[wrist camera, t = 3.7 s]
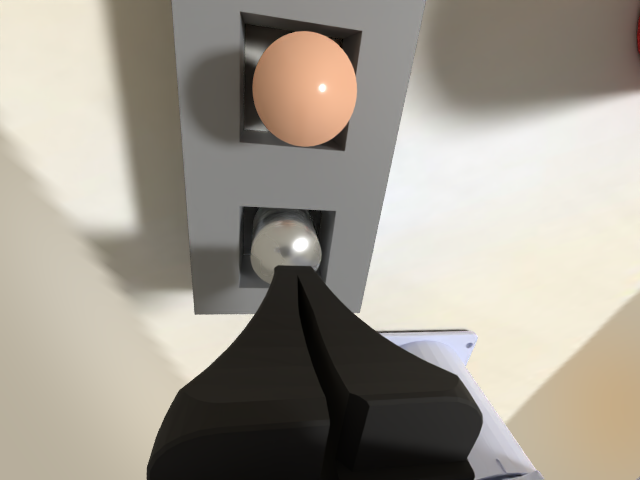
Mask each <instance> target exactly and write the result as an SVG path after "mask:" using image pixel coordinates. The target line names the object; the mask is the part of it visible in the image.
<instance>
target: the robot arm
mask: <svg viewBox="0 0 640 480" xmlns="http://www.w3.org/2000/svg"><path fill="white" fill-rule="evenodd" d="M477 339H478V336H477V335H476V333H475V332H473V331H449V332H406V333H378V332H376V331H375V330H374V329H372V328H371V327H370V326H368V325H367V324H366V323H365V322H363V321H362V320H361V319H360V318H358V317H357V316H356V315H355V314H354V313H353V312H351V311H350V310H349V309H348V308H347V307H346V306H345V305H344V304H343V303H342V302H341V301H340V300H339V299H338V298H337V296H336V295H335V294H334V293H333V292H332V291H331V290H330V289H329V288H328V286H327V285H326V284H325V283H324V282H323V280H322V279H321V278H320V277H319V275H318V274H317V273H316V271H315V270H314V269H313V268H312V267H311V266H289V265H277V266H276V267H275V268H274V275H273V279H272V282H271V284H270V287H269V289H268V291H267V293H266V296H265V298H264V299H263V301H262V303H261V305H260V306H259V308H258V310H257V312H256V313H255V315H254V316H253V318H252V319H251V321H250V322H249V323H248V325H247V326H246V327H245V329H244V330H243V331H242V333H241V334H240V335H239V336H238V337H237V338H236V340H235V341H234V342H233V343H232V344H231V345H230V346H229V347H228V349H227V350H226V351H225V352H223V353H222V354H221V355H220V356H219V357H218V358H217V359H216V360H215V361H214V362H213V363H212V364H211V365H210V366H209V367H208V368H207V369H205V370H204V371H203V372H202V373H201V374H199V375H198V376H197V377H195V378H194V379H193V380H192V381H190V382H189V383H188V384H187V385H185V386H184V387H183V388H182V389H180V390H179V392H178V393H177V395H176V397H175V399H174V401H173V402H172V404H171V406H170V408H169V410H168V412H167V414H166V416H165V418H164V420H163V422H162V425H161V427H160V429H159V431H158V434H157V437H156V439H155V443H154V446H153V449H152V453H151V456H150V459H149V462H148V466H147V480H545V479H544V477H543V476H542V474H541V473H540V471H538V470H536V469H535V467H534V466H533V465H532V463H531V462H530V460H529V459H528V457H527V456H526V454H525V453H524V451H523V450H522V448H521V447H520V446H519V444H518V442H517V441H516V440H515V438H514V437H513V435H512V434H511V432H510V431H509V429H508V428H507V426H506V425H505V423H504V422H503V421H502V419H501V418H500V416H499V415H498V413H497V412H496V410H495V409H494V407H493V406H492V404H491V403H490V401H489V400H488V399H487V397H486V396H485V394H484V393H483V391H482V390H481V388H480V387H479V385H478V384H477V382H476V381H475V380H474V378H473V377H472V375H471V374H470V372H469V371H468V369H467V368H466V364H467V362H468V360H469V358H470V355H471V353H472V351H473V348H474V346H475V344H476V342H477ZM636 480H640V477H639V478H638V479H636Z"/></svg>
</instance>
